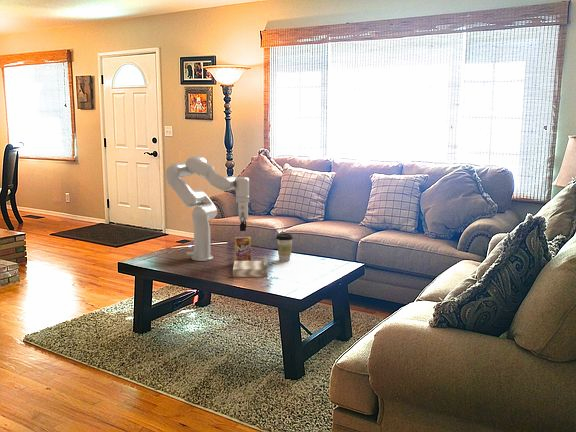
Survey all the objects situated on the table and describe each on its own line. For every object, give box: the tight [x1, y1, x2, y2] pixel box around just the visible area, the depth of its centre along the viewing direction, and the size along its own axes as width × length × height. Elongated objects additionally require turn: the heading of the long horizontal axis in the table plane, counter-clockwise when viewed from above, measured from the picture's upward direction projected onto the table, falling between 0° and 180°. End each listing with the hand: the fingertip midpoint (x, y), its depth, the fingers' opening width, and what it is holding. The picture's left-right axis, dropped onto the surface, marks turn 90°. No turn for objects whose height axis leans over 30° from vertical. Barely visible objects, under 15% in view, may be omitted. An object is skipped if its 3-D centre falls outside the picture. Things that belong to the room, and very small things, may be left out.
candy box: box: [234, 236, 252, 262], centre depth 325 cm, size 9×4×15 cm, turn 103°
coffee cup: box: [275, 233, 294, 263], centre depth 333 cm, size 10×10×15 cm
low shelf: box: [232, 255, 268, 278], centre depth 307 cm, size 18×18×6 cm
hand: (243, 229), depth 323 cm, fingers open, 9 cm apart
